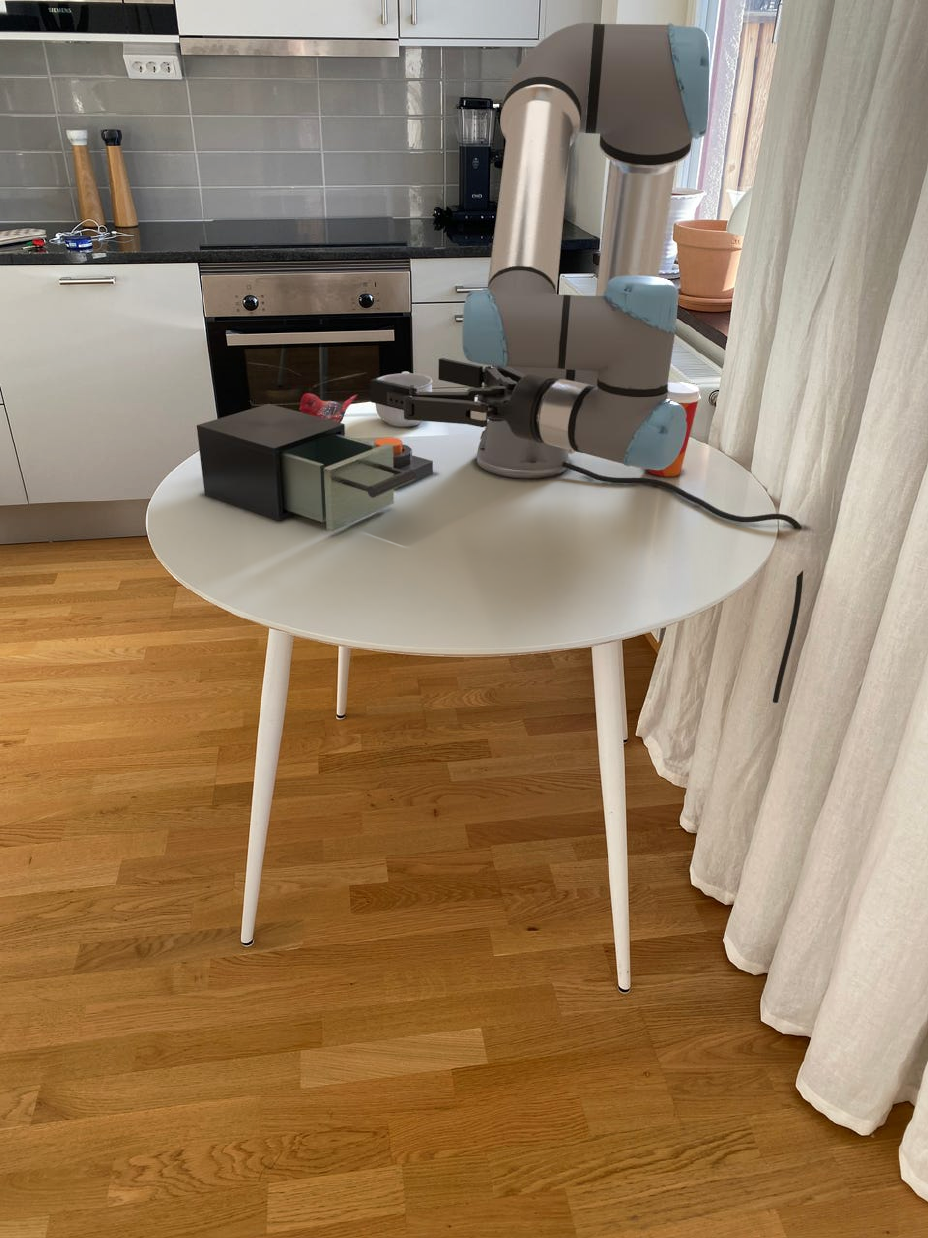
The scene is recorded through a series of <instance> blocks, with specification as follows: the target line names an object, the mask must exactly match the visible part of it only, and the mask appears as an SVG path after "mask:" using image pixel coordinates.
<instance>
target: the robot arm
mask: <svg viewBox="0 0 928 1238" xmlns="http://www.w3.org/2000/svg"><path fill="white" fill-rule="evenodd" d="M710 50H711V48H710V40H709V37H708V35H707V33H706V32H705V31H704V30H703V29H702V28H700V27H697V26H686V25H685V26H684V25H675V24H673V23H668V24H650V23H649V24H647V23H646V24H645V23H643V24H641V23H638V24H637V23H635V24H634V23H594V22H579V23H574V24H571V25H567V26H565V27H563V28H561V29H558V30H556V31H554V32H553V33H551V34H550V35H548V36H547V37H546V38H544V39H543V40H541V41H540V42H538V44H536V46H535V47H534V48H532V49H531V51H529V52H528V54H527V55H526V56H525V57H524V58H523V59H522V61H521V62H520V63H519V65H518V66H517V67H516V70H515V71H514V73H513V74H512V76H511V78H510V80H509V82H508V84H507V87H506V89H505V92H504V95H503V99H502V103H501V110H500V118H499V122H500V123H499V124H500V131H501V133H502V136H503V137H504V139H505V146H504V152H503V153H504V154H503V161H502V171H501V177H500V185H499V193H498V199H497V200H498V201H497V208H496V217H495V224H494V231H493V232H494V233H493V241H492V248H491V256H490V265H489V272H488V273H489V274H488V280H487V287H486V288H483V289H481V290H471V291H469V292H468V293H467V295H466V296H465V301H464V305H463V314H462V325H461V326H462V329H461V330H462V331H461V333H462V334H461V340H462V341H461V342H462V351H463V355H464V357H465V358H466V359H467V361H469V362H471V363H468V362H463V361H459V360H454V359H450V358H449V359H448V358H444V357H441V358H438V377H437V378H438V379H437V380H438V381H443V382H448V383H452V384H456V385H460V386H466V387H470V388H468V389H467V391H432V392H417V388H414V385H412V386H409V387H408V386H404V385H399V384H395V383H391V382H386V381H382V380H378V379H377V378H372V379H370V382H369V384H370V403H373V404H375V403H377V404H381V405H385V406H389V407H393V408H397V409H401V410H404V419H406V420H418V421H423V422H433V423H445V424H457V425H469V426H473V427H479V428H484V430H483V431H482V433H481V435H480V437H479V440H480V442H479V444H478V447H477V448H478V449H477V451H476V452H477V453H476V463H477V465H478V466H479V467H480V468H481V469H483V470H484V471H486V472H488V473H490V474H494V475H496V476H502V477H506V478H512V479H528V480H529V479H531V480H532V479H544V478H550V477H553V476H557V475H560V474H562V473H564V472H565V471H566V470H567V469H568V470H571V471H573V472H577V473H579V474H582V475H585V476H587V477H588V478H592V479H593V480H596V481H599V482H605V483H614V484H647V485H648V484H649V485H653V486H658V487H661V488H664V489H667V490H670V491H672V492H674V493H676V494H678V495H679V496H681V497H683V498H684V499H687V500H688V501H690V502H692V503H695V504H697V505H698V506H701V507H702V508H704V509H705V510H707V511H708V512H710V513H712V514H714V515H716V516H717V517H719V518H722V519H726V520H728V521H732V522H737V523H746V524H747V523H748V524H749V523H758V522H764V521H772V520H773V521H774V520H775V521H776V520H779V521H784V522H787V523H788V524H790V525H791V526H792V527H793V528H794V529H798V530H802V529H803V526H802V525H801V524H800V522H799V521H797V520H796V519H795V518H793V517H792V516H790V515H787V514H784V513H768V514H767V513H766V514H760V515H753V516H741V515H736V514H732V513H728V512H727V511H723V510H721V509H719V508H717V507H715V506H713V505H712V504H710V503H708V502H707V501H705V500H704V499H701V498H700V497H697V496H695V495H693V494H691V493H689V492H687V491H686V490H683V489H682V488H680V487H678V486H676V485H675V484H672V483H670V482H668V481H667V482H666V481H664V480H660V479H655V478H649V477H615V476H606V475H602V474H598V473H596V472H593V471H591V470H588V469H586V468H584V467H581V466H578V465H575V464H573V463H570V462H569V461H570V455H573V454H575V452H576V453H580V454H585V455H589V456H593V457H596V458H600V459H604V460H607V461H610V462H615V463H618V464H621V465H624V466H625V467H632V468H633V467H634V468H639V469H644V470H647V469H651V470H662V469H665V468H666V467H668V466H670V465H671V464H672V463H673V462H674V461H675V459H676V458H677V456H678V455H679V453H680V450H681V448H682V446H683V443H684V439H685V435H686V430H687V422H686V411H685V409H684V407H683V406H682V405H680V404H678V403H675V402H673V401H672V400H669V399H668V397H667V396H668V388H667V387H668V382H669V378H670V372H671V371H670V370H671V364H672V356H673V351H674V350H673V349H674V344H675V337H676V333H677V329H678V327H677V316H678V306H679V289H678V288H677V286H676V285H675V284H674V283H673V281H670V280H668V279H665V278H662V277H659V275H660V270H661V263H662V256H663V250H664V244H665V237H666V231H667V226H668V225H667V224H668V219H669V214H670V213H669V212H670V206H671V199H672V193H673V187H674V181H675V175H676V170H677V169H676V167H677V164H679V163H680V162H682V161H683V160H684V159H686V158H687V157H688V156H689V155H690V153H691V149H692V144H693V139H694V140H698V139H699V138H703V137H705V136H706V134H707V133H708V125H709V124H708V123H709V115H710V114H709V113H710V112H709V111H710V94H711V93H710V91H711V90H710V89H711V53H710V52H711V51H710ZM579 133H582V134H583V133H584V134H597V135H599V149H600V151H601V152H602V154H603V155H604V156H605V157H606V159H608V160H609V165H608V174H607V182H606V184H607V185H606V193H605V202H604V212H603V222H602V233H601V241H600V242H601V243H600V253H599V263H598V271H597V272H598V273H597V281H596V282H597V283H596V293H595V295H579V294H557V292H558V291H557V290H558V281H559V270H560V260H561V248H562V247H561V246H562V238H563V237H562V235H563V224H564V217H565V215H564V214H565V206H566V205H565V203H566V193H567V182H568V173H569V172H568V171H569V162H570V161H569V159H570V148H571V146H572V145H573V144H574V142H575V141H576V139H577V138H578V136H579ZM478 364H479V365H478ZM483 365H486V366H485V367H483ZM487 365H488V366H487ZM476 397H477V398H476ZM475 399H477V400H475ZM569 454H570V455H569ZM803 581H804V570H802V571H800V573H798V575H797V576H796V581H795V582H796V584H795V592H794V593H795V594H794V602H793V608H792V615H791V619H790V624H789V628H788V633H787V638H786V641H785V645H784V649H783V654H782V657H781V661H780V665H779V669H778V673H777V678H776V683H775V687H774V690H773V691H774V692H773V696H772V703H774V704H778V703H779V700H780V694H781V689H782V684H783V680H784V676H785V672H786V668H787V664H788V661H789V656H790V653H791V648H792V644H793V641H794V637H795V632H796V628H797V623H798V618H799V614H800V607H801V601H802V594H803Z"/></svg>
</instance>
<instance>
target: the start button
mask: <svg viewBox="0 0 928 1238" xmlns="http://www.w3.org/2000/svg"><path fill="white" fill-rule="evenodd" d="M373 442H374V443H373V444H376V448H377V447H379V446H382V445H384V444H390V445H393V455H398V454H400V453H402V444H403V441H402V439H400V438H397V437H391V436H390V437H389V436H388V437H385V436H384V437H379V438H377V439H375V440H374V441H373Z"/></svg>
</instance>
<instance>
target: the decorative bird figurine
mask: <svg viewBox="0 0 928 1238" xmlns="http://www.w3.org/2000/svg"><path fill="white" fill-rule="evenodd" d="M357 397H358V394H357V393H356V394H354V395H352V396H351V397H350V398H348V399H347V400H345V401H344V402H343V403H341V402H337V401H332V400H321V399H320V398H319V396H317V395H316V394H314V393H310V392H306V393H304V394H303V395H302V396H301V399H300V406H299V409H298V410H299V411H298V412H301V413H305V414H309V415H313V416H316V417H320V418H324V419H328V420H331V421H335V422H339V423H342V421H343V419H344V417H345V413H346V411H347V409H348V408H349V407H350V405H351V404H352V403H353V402H354V401H355V399H356V398H357Z"/></svg>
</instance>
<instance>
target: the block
mask: <svg viewBox="0 0 928 1238" xmlns="http://www.w3.org/2000/svg"><path fill="white" fill-rule="evenodd" d="M393 468H395V469H399V470H402V471H407V470H409V469H413V470H414V471H415V472H416V479H415V480H413V481H411V482H408V483H406V484H404V485H402V486H399V487H397V488H395V489H394V490H399V489H402V488H405V487H406V486H408V485H411V484H413V483H415V482H417V481H420V480H422V479H425V478H426V477H428V476H431V475H433V474H434V460H430V459H427V458H423V457H419V456H416V455H413V448H411V447H410V446H409V445H407V444H403V443H402V453H400V454H398V455H393ZM395 475H397V474H393V476H395Z"/></svg>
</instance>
